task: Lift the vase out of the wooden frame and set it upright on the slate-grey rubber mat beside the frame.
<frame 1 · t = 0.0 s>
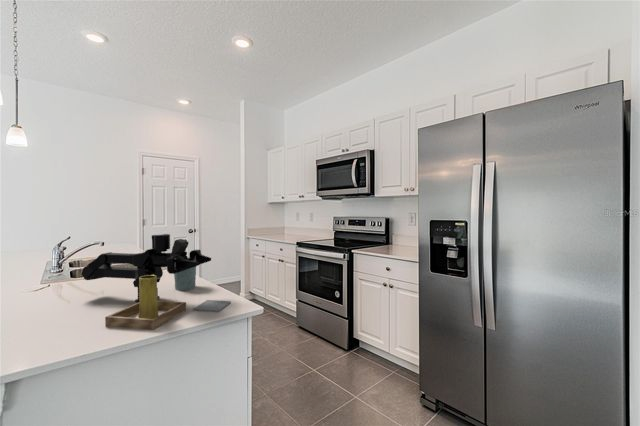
hand: (205, 261, 117), 17 cm above the counter, tool horizontal, fingers open, 9 cm apart
slate mat: (212, 306, 114), on the counter
vase: (148, 318, 102), resting in wooden frame
wooden frame: (148, 317, 102), on the counter
grey-blue cup: (185, 288, 138), on the counter
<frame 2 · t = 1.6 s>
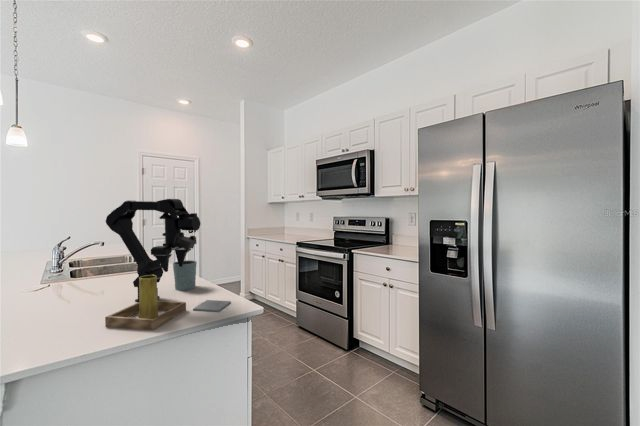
hand: (173, 269, 119), 13 cm above the counter, tool pointing down, fingers open, 9 cm apart
nothing on the counter moved.
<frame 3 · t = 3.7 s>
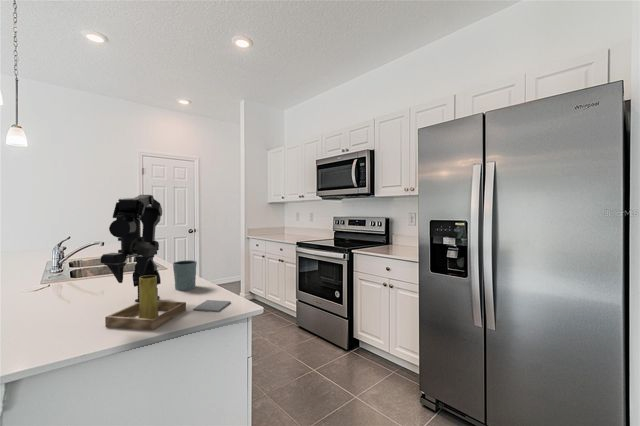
hand: (131, 279, 102), 13 cm above the counter, tool pointing down, fingers open, 9 cm apart
nothing on the counter moved.
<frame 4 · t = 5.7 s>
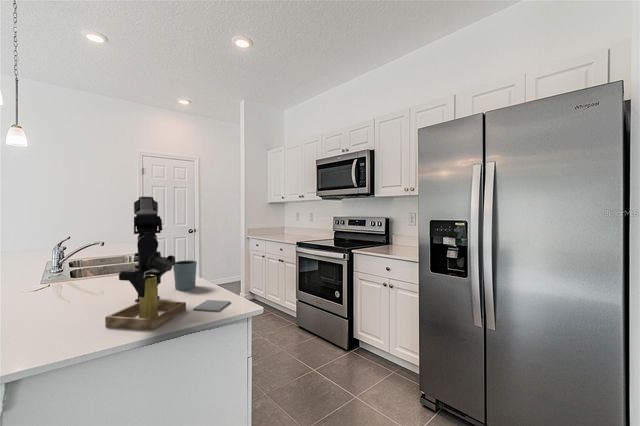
hand: (148, 294, 102), 8 cm above the counter, tool pointing down, fingers closed on vase, 5 cm apart
vase: (148, 318, 102), resting in wooden frame, touching gripper
everything else where it was.
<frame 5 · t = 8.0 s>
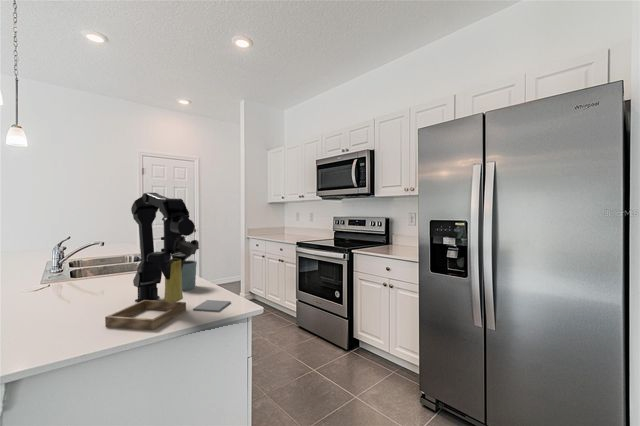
hand: (173, 277, 106), 13 cm above the counter, tool pointing down, fingers closed on vase, 5 cm apart
vase: (173, 300, 106), point 5 cm above the counter, touching gripper
everything else where it was.
when the fingers open (9 cm above the counter, at t = 10.2 s): vase stays where it is, resting on slate mat.
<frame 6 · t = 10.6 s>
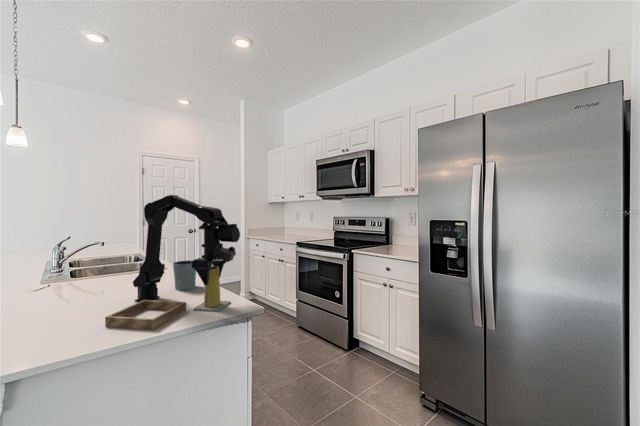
hand: (212, 281, 113), 9 cm above the counter, tool pointing down, fingers open, 9 cm apart
vase: (212, 305, 114), resting on slate mat
everything else where it was.
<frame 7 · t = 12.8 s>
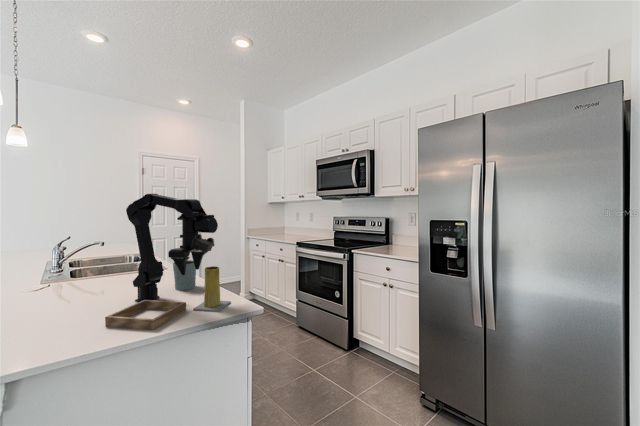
hand: (190, 272, 114), 13 cm above the counter, tool pointing down, fingers open, 9 cm apart
nothing on the counter moved.
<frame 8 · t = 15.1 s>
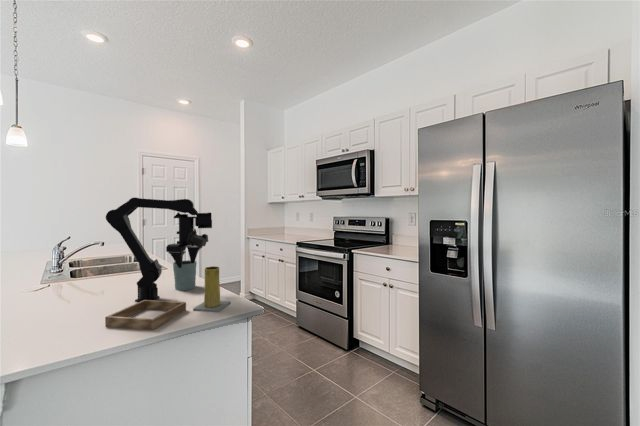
hand: (186, 265, 125), 13 cm above the counter, tool pointing down, fingers open, 9 cm apart
nothing on the counter moved.
at the end: vase inside the target area on the slate mat (0.1 cm from its centre), point 0.4 cm above the slate mat's base; vase tilted 0°; the gripper is holding nothing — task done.
